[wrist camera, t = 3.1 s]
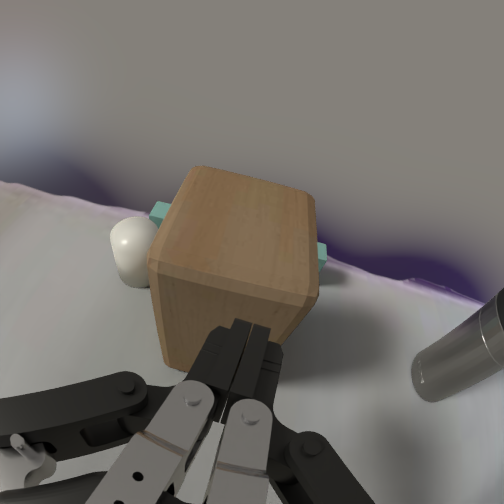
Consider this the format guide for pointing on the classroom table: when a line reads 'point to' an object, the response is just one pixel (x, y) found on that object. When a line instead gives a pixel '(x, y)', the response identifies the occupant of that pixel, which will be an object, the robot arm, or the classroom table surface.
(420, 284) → the classroom table surface
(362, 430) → the classroom table surface
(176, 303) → the wooden block
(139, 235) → the cream rounded cylinder
